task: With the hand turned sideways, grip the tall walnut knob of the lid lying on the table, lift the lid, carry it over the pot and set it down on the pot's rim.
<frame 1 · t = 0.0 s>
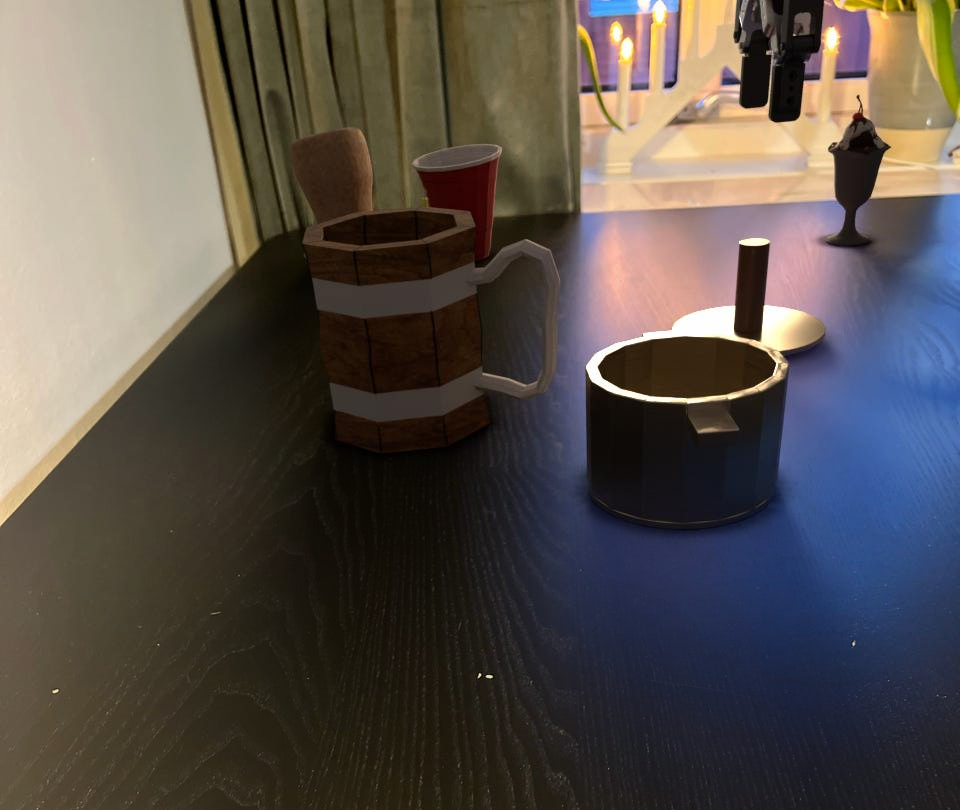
hand: (767, 114, 77), 19 cm above the table, tool pointing down, fingers open, 8 cm apart
mug: (446, 423, 80), on the table
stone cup: (348, 259, 127), on the table
lid: (747, 333, 90), point 1 cm above the table
plastic cup: (465, 259, 123), on the table
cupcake: (424, 309, 106), on the table
pot: (680, 485, 68), on the table
sundae: (846, 242, 116), on the table
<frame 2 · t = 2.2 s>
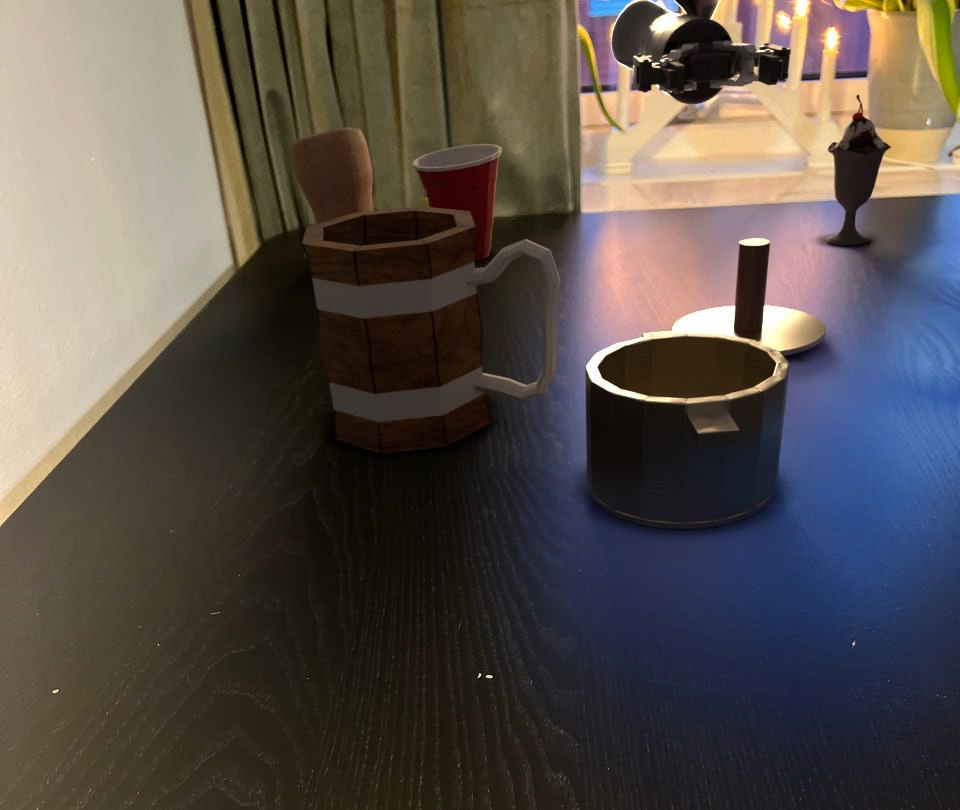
hand: (728, 75, 88), 20 cm above the table, tool horizontal, fingers open, 8 cm apart
nothing on the table moved.
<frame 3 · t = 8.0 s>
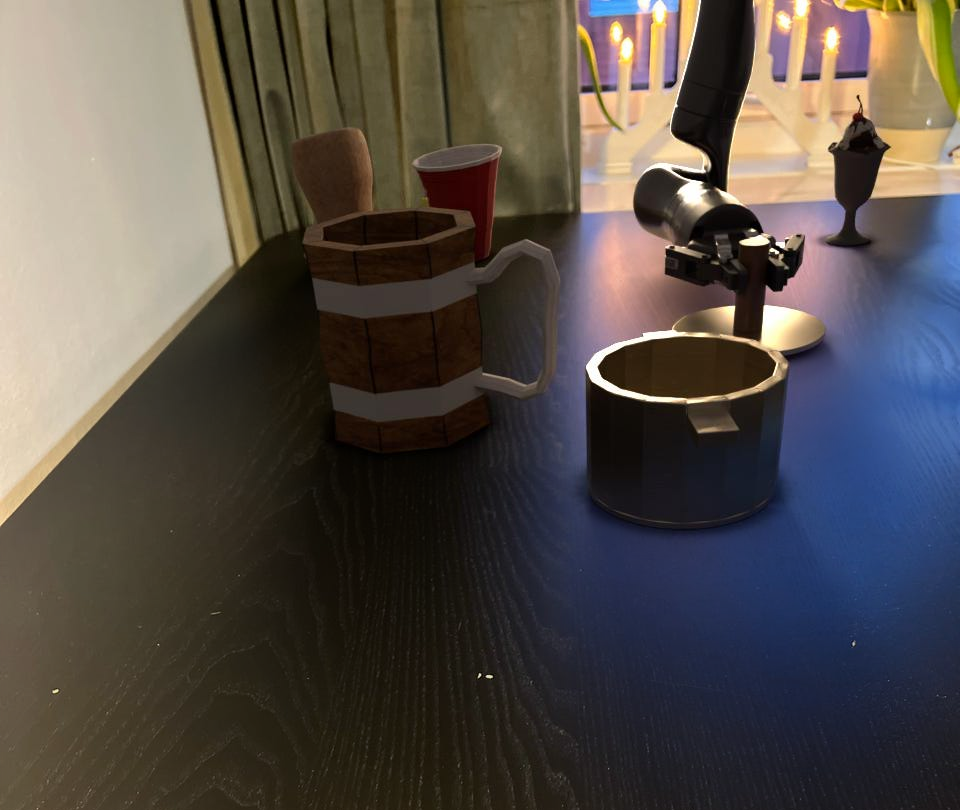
hand: (761, 281, 85), 6 cm above the table, tool horizontal, fingers closed on lid, 2 cm apart
lid: (747, 333, 90), point 1 cm above the table, touching gripper
everything else where it was.
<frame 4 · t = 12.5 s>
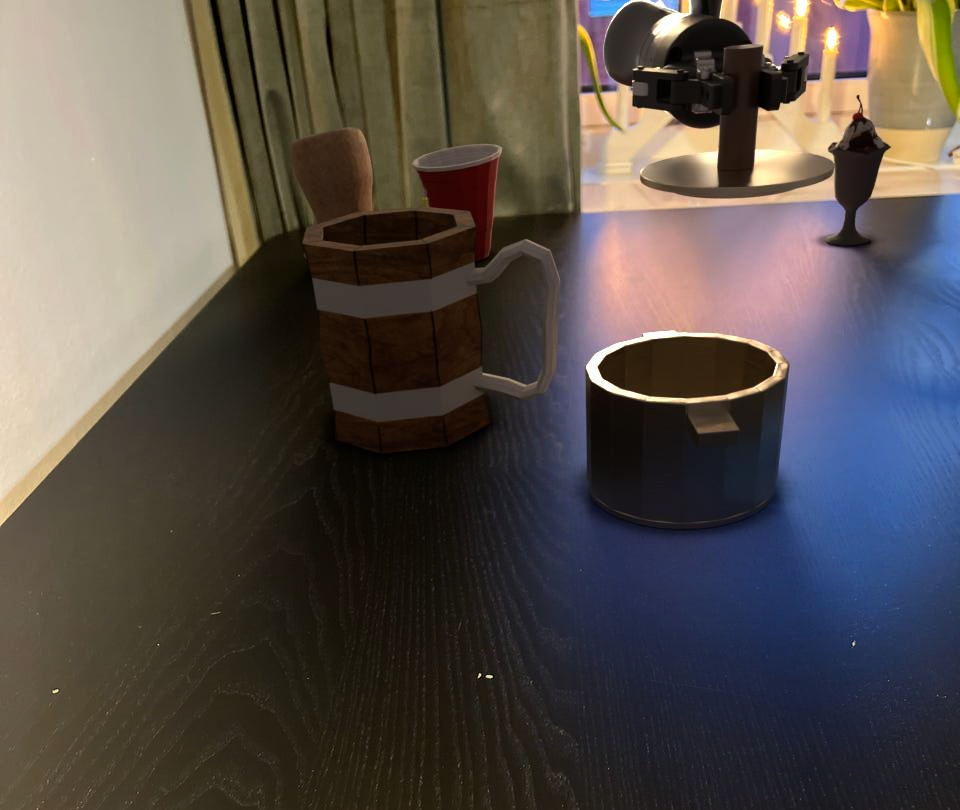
hand: (752, 95, 66), 22 cm above the table, tool horizontal, fingers closed on lid, 2 cm apart
lid: (734, 174, 71), point 16 cm above the table, touching gripper
everything else where it was.
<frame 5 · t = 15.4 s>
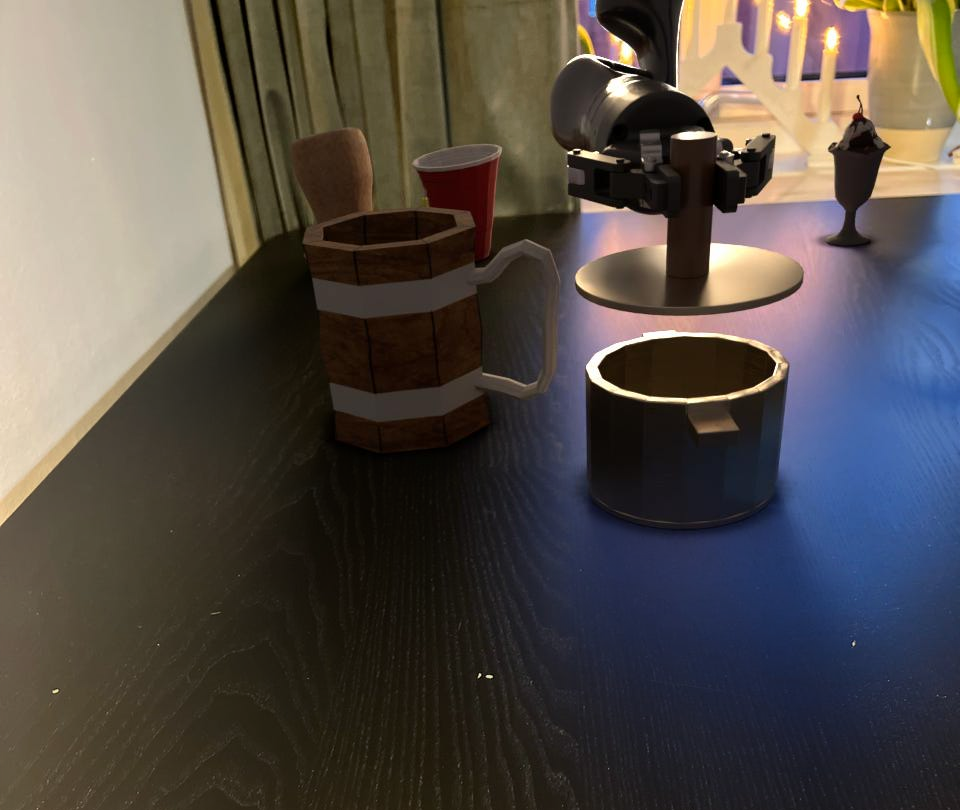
hand: (703, 195, 54), 19 cm above the table, tool horizontal, fingers closed on lid, 2 cm apart
lid: (686, 280, 60), point 14 cm above the table, touching gripper
everything else where it was.
when the fingers open (14 cm above the table, at t = 17.2 s): lid stays where it is, resting on pot.
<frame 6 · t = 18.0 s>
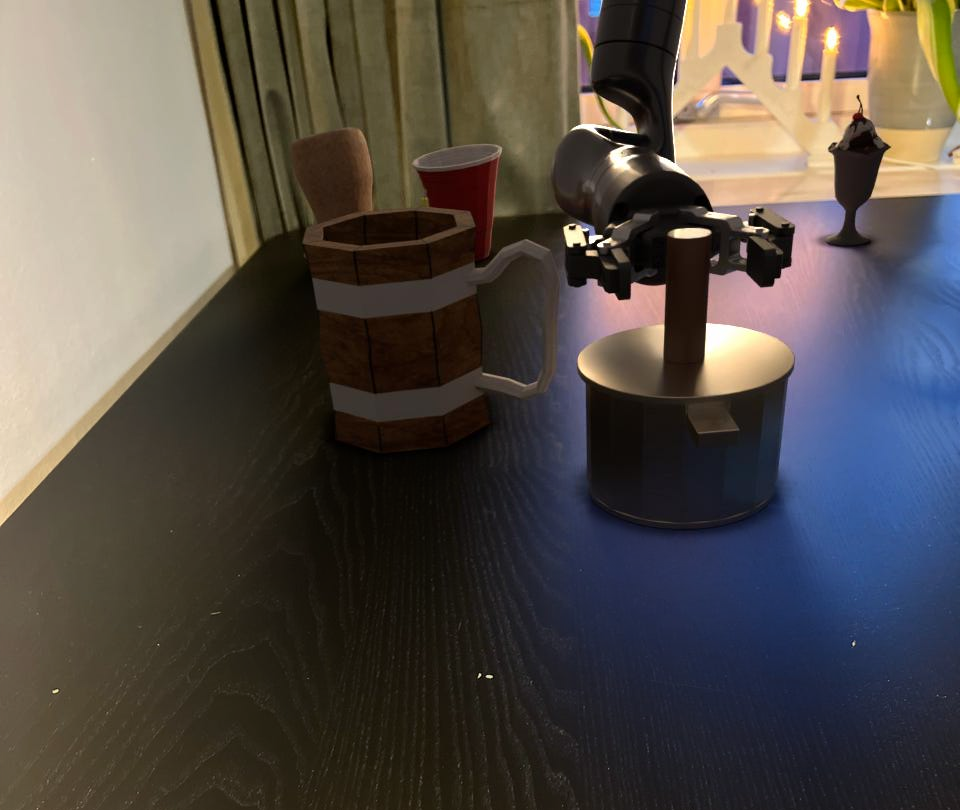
hand: (697, 276, 58), 14 cm above the table, tool horizontal, fingers open, 8 cm apart
lid: (683, 364, 63), point 8 cm above the table, touching pot
everything else where it was.
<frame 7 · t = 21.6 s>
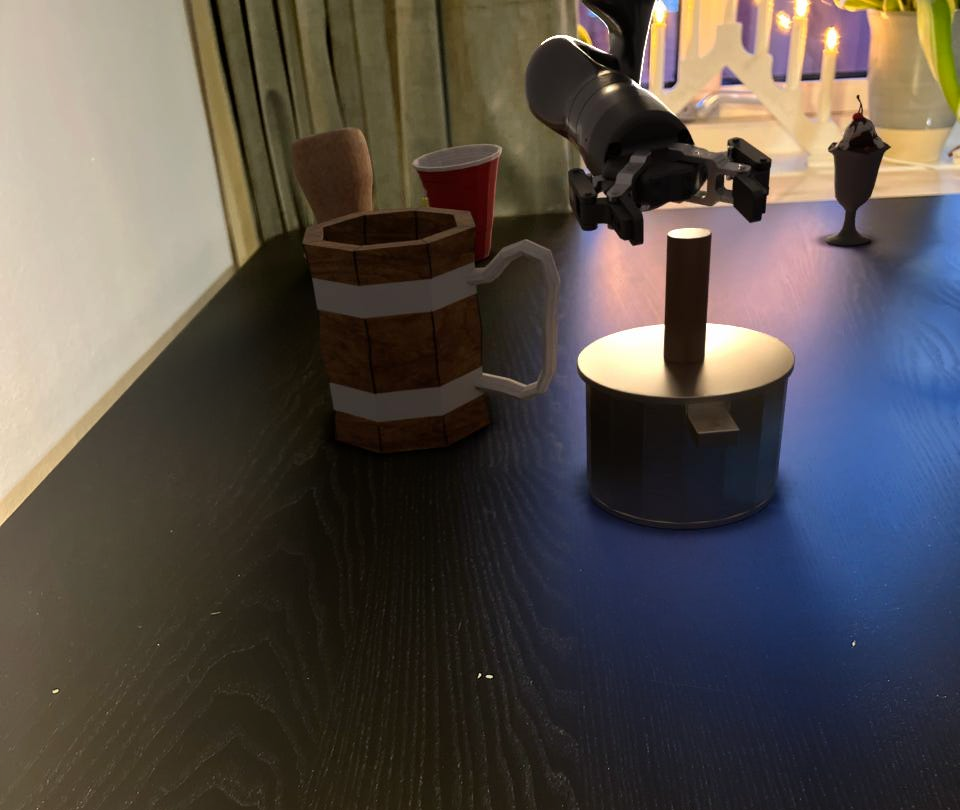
hand: (698, 220, 68), 15 cm above the table, tool horizontal, fingers open, 8 cm apart
nothing on the table moved.
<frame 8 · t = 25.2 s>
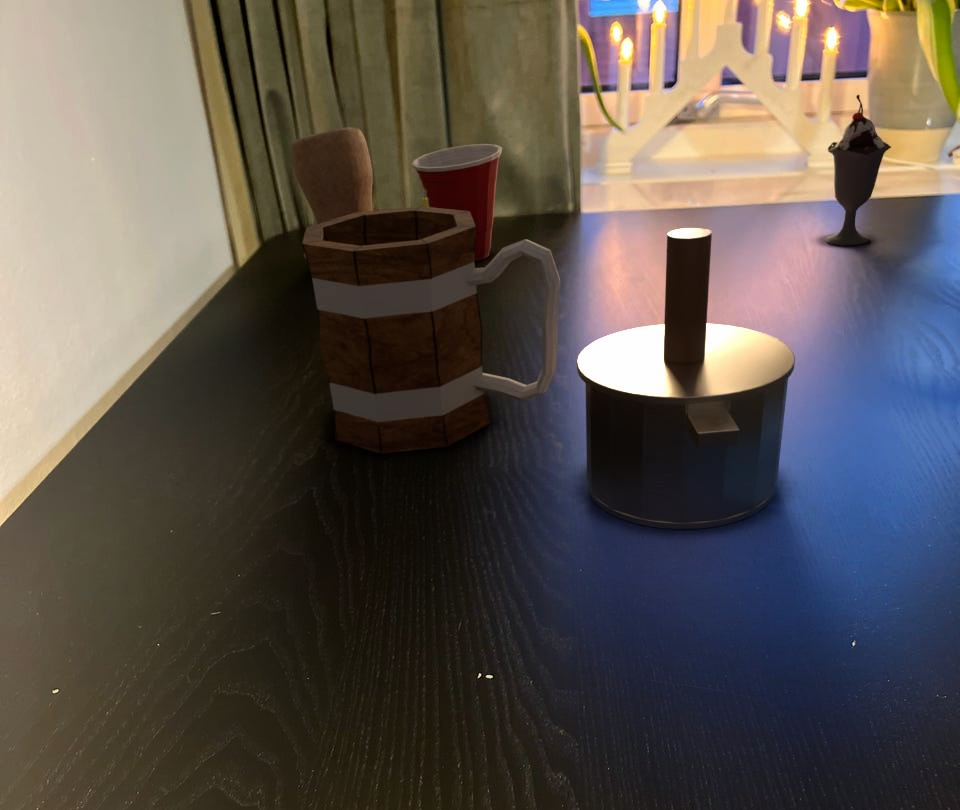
nothing on the table moved.
at the end: lid 0.1 cm off-centre on the pot, point 8.5 cm above the pot's base; lid tilted 0°; the gripper is holding nothing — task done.
